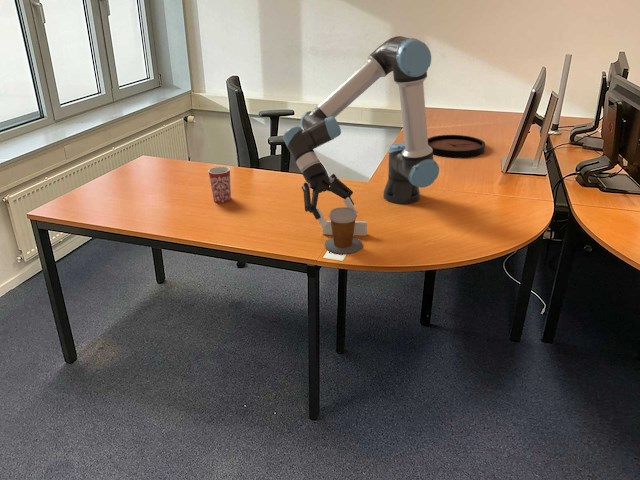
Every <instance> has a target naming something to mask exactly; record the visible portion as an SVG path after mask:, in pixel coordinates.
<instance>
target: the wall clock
mask: <svg viewBox="0 0 640 480" xmlns="http://www.w3.org/2000/svg"><path fill="white" fill-rule="evenodd" d="M428 145H429V146H430V147H431V148H432V149H433V156H436V157H440V158H447V159H470V158H475V157H478V156H482V155H483V154H485V152H486V142H485V141H484V140H483V139H480V138H477V137H474V136H470V135H461V134H441V135H434V136H431V137H428Z"/></svg>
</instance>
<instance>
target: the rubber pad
mask: <svg viewBox="0 0 640 480" xmlns="http://www.w3.org/2000/svg"><path fill="white" fill-rule="evenodd" d="M362 248H363V242H362V240H360V239H358V238H356V237H354V236H353V240H352V245H351V246H350V247H347V248H339V247H336V246H335V245H334V241H333V237H330V238H328V239H327V240H326V241H325V242H324V249H326V250H327V251H328V252H331V253H333V254H337V255H351V254H354V253H357V252H358V251H360V250H362Z"/></svg>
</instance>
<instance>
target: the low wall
mask: <svg viewBox="0 0 640 480" xmlns="http://www.w3.org/2000/svg"><path fill="white" fill-rule="evenodd" d="M326 221H327V223H328V225H327V226H326V227H325V228H322V235H329V236H333V234H332V227H331V220H326ZM367 235H368V221H365V220H355V226H354V233H353V236H367Z"/></svg>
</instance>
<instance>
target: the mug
mask: <svg viewBox="0 0 640 480" xmlns="http://www.w3.org/2000/svg"><path fill="white" fill-rule="evenodd" d="M207 172H208V176H209V181H210V186H211V187H210V188H211V192H212V198H213V202H214V201H215V202H214V203H217V202H218V204H224V203H225V204H226V203H228V202H230V201H231V200H232V195H231V192H232V191H231V168H230V167H228V166H222V165H221V166H213V167H211V168H209V169H208V170H207Z"/></svg>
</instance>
